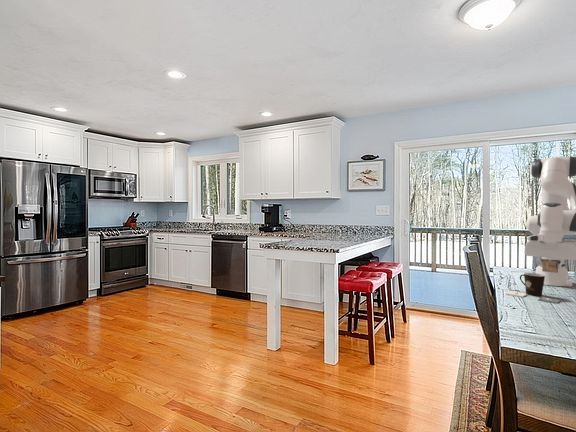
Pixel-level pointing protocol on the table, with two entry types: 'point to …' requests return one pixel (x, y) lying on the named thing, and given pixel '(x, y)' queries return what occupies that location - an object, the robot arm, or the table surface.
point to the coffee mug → (533, 283)
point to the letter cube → (550, 266)
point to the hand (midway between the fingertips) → (550, 267)
